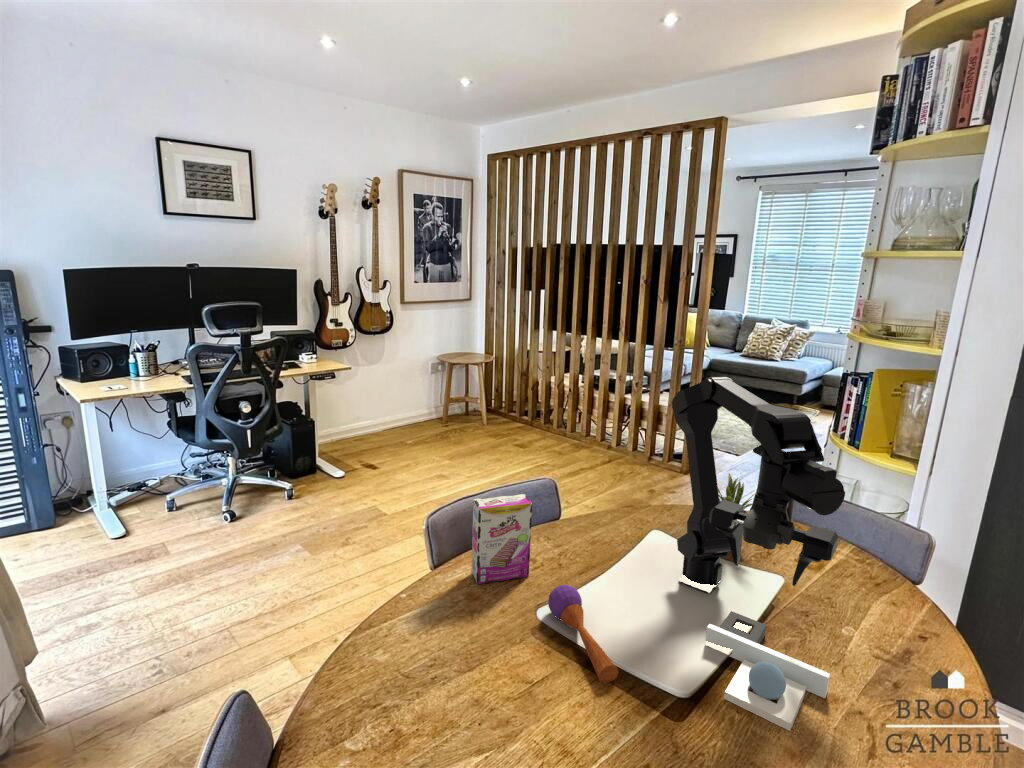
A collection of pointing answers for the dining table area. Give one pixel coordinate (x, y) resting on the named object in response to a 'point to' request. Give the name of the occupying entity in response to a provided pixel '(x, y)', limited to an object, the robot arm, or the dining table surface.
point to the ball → (767, 680)
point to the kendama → (581, 629)
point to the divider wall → (771, 659)
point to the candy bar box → (501, 538)
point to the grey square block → (757, 627)
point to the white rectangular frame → (762, 707)
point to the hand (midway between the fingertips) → (764, 574)
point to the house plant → (731, 493)
